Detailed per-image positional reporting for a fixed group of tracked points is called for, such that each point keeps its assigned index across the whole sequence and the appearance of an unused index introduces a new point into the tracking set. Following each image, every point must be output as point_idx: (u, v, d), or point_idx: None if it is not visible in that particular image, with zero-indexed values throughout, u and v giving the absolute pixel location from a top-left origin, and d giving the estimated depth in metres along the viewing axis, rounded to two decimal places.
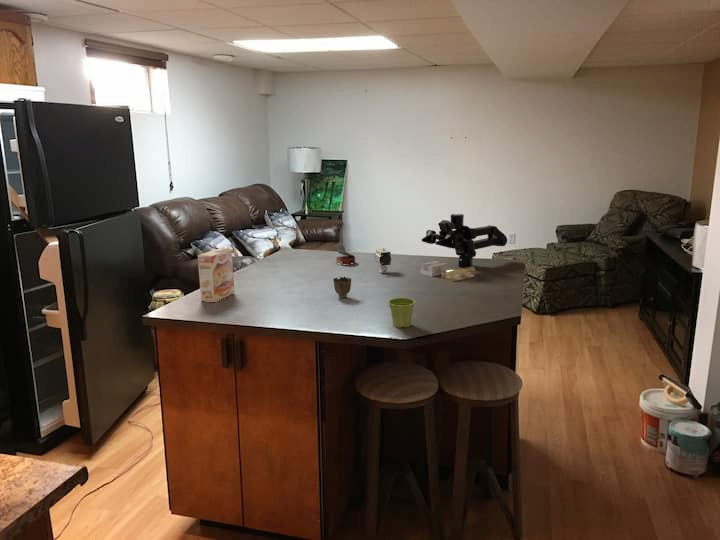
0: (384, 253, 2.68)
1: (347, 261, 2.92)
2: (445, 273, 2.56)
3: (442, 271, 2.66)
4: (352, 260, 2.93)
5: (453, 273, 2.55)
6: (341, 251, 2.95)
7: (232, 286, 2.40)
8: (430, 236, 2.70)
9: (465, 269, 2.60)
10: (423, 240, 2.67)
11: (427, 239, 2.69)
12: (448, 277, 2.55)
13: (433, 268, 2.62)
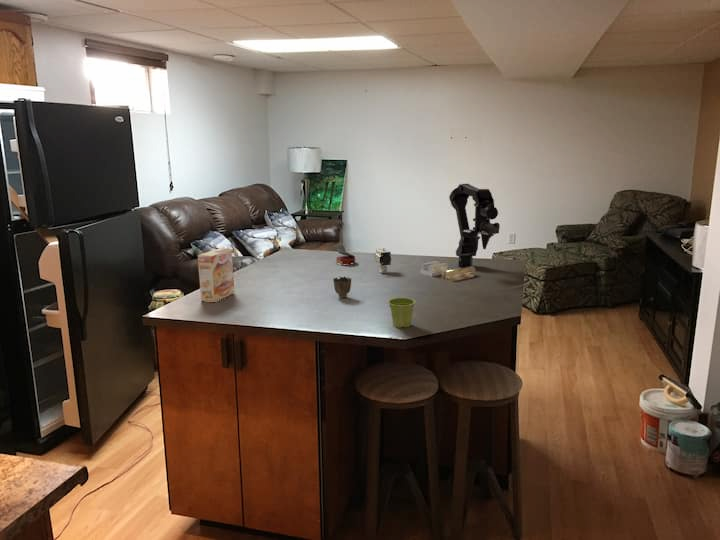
0: (384, 253, 2.68)
1: (347, 261, 2.92)
2: (445, 273, 2.56)
3: (442, 271, 2.66)
4: (352, 260, 2.93)
5: (453, 273, 2.55)
6: (341, 251, 2.95)
7: (232, 286, 2.40)
8: None
9: (466, 269, 2.60)
10: None
11: None
12: (448, 277, 2.55)
13: (433, 268, 2.62)
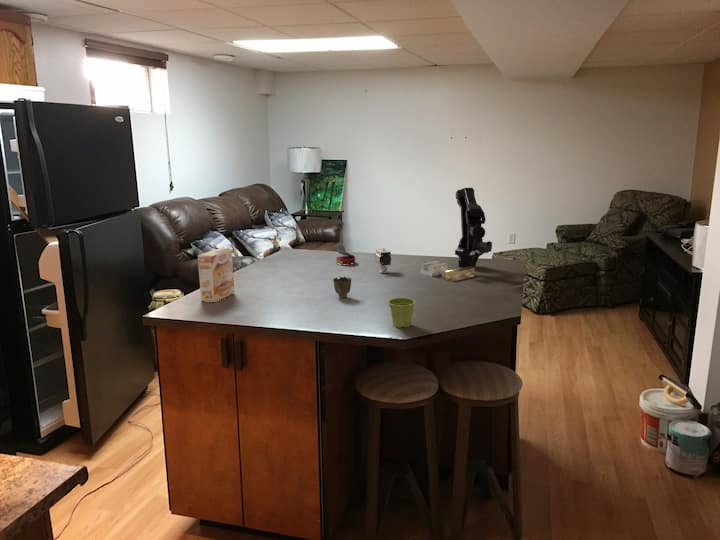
0: (384, 253, 2.68)
1: (347, 261, 2.92)
2: (444, 273, 2.56)
3: (442, 271, 2.66)
4: (352, 260, 2.93)
5: (452, 273, 2.55)
6: (341, 251, 2.95)
7: (232, 286, 2.40)
8: None
9: (465, 269, 2.60)
10: None
11: None
12: (447, 277, 2.54)
13: (433, 268, 2.62)
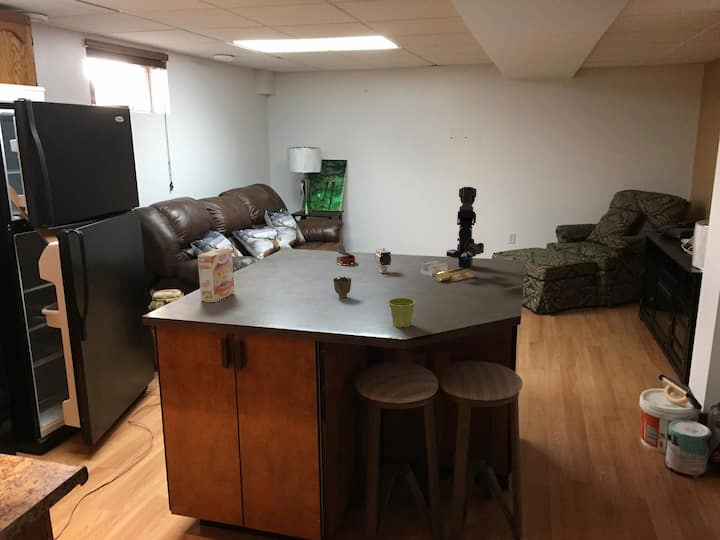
0: (384, 253, 2.68)
1: (347, 261, 2.92)
2: (436, 275, 2.53)
3: (442, 271, 2.66)
4: (352, 260, 2.93)
5: (444, 275, 2.52)
6: (341, 251, 2.95)
7: (232, 286, 2.40)
8: None
9: (457, 271, 2.57)
10: None
11: None
12: (439, 279, 2.51)
13: (433, 268, 2.62)
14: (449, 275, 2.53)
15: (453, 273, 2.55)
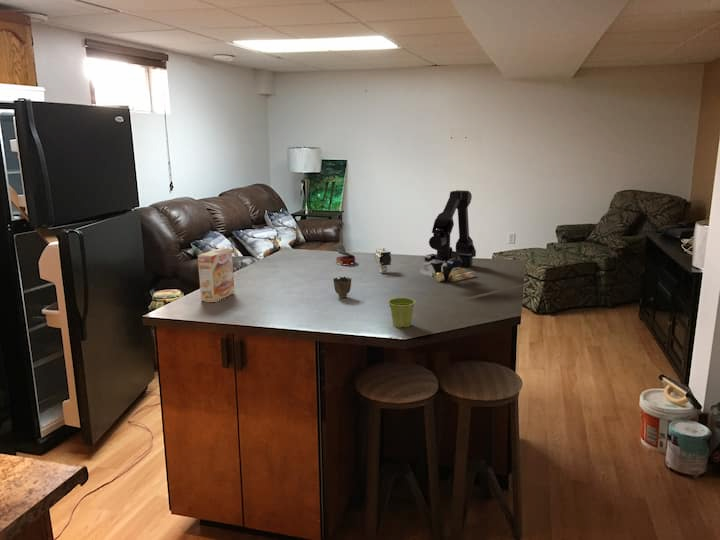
0: (384, 253, 2.68)
1: (347, 261, 2.92)
2: (435, 275, 2.53)
3: (442, 271, 2.66)
4: (352, 260, 2.93)
5: (443, 275, 2.52)
6: (341, 251, 2.95)
7: (232, 286, 2.40)
8: None
9: (456, 270, 2.57)
10: None
11: None
12: (439, 279, 2.51)
13: (433, 268, 2.62)
14: None
15: (452, 273, 2.55)
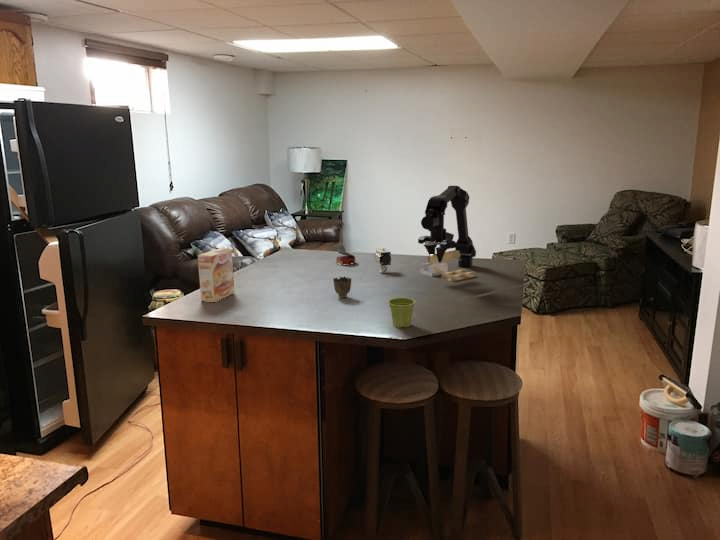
0: (384, 253, 2.68)
1: (347, 261, 2.92)
2: (429, 257, 2.48)
3: (442, 271, 2.66)
4: (352, 260, 2.93)
5: (437, 257, 2.47)
6: (341, 251, 2.95)
7: (232, 286, 2.40)
8: None
9: (450, 252, 2.52)
10: None
11: None
12: (432, 261, 2.47)
13: (433, 268, 2.62)
14: None
15: (446, 255, 2.51)
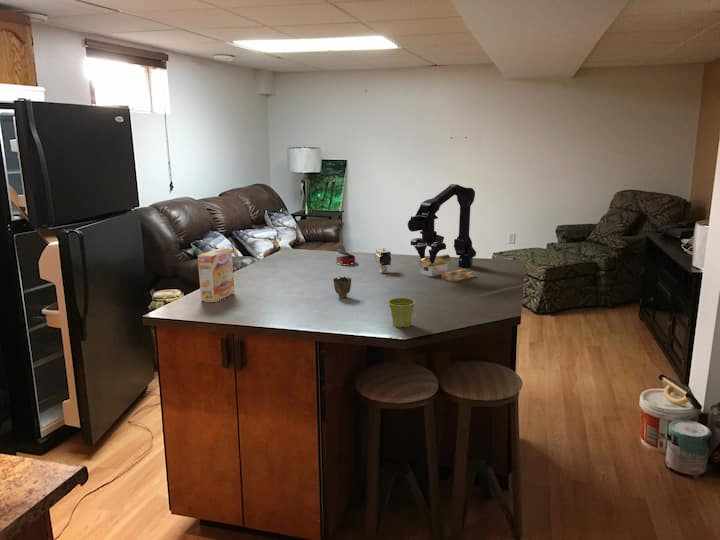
0: (384, 253, 2.68)
1: (347, 261, 2.92)
2: (420, 261, 2.64)
3: (442, 271, 2.66)
4: (352, 260, 2.93)
5: (428, 261, 2.63)
6: (341, 251, 2.95)
7: (232, 286, 2.40)
8: None
9: (440, 257, 2.68)
10: None
11: None
12: (423, 265, 2.62)
13: (433, 268, 2.62)
14: None
15: (437, 259, 2.66)
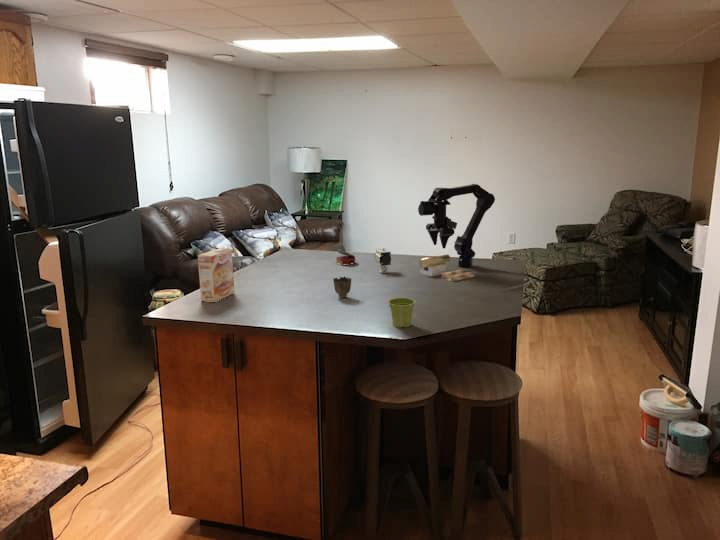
0: (384, 253, 2.68)
1: (347, 261, 2.92)
2: (420, 261, 2.64)
3: (442, 271, 2.66)
4: (352, 260, 2.93)
5: (428, 261, 2.63)
6: (341, 251, 2.95)
7: (232, 286, 2.40)
8: None
9: (440, 257, 2.68)
10: None
11: None
12: (423, 265, 2.62)
13: (433, 268, 2.62)
14: (433, 261, 2.64)
15: (437, 259, 2.66)
